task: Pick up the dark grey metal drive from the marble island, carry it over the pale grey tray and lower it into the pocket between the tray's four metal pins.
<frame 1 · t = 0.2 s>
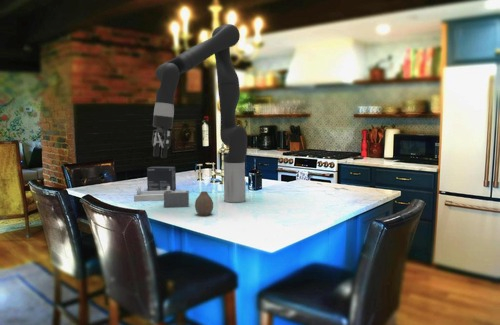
hand: (159, 157, 156), 21 cm above the kitchen island, tool pointing down, fingers open, 8 cm apart
small box: (161, 190, 203), on the kitchen island
vase: (204, 215, 153), on the kitchen island
tray: (153, 198, 183), on the kitchen island
drive: (176, 206, 168), on the kitchen island
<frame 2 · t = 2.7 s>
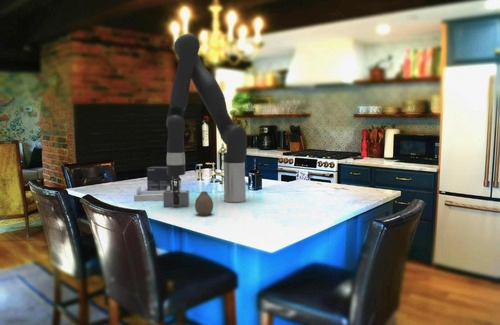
hand: (176, 203, 168), 1 cm above the kitchen island, tool pointing down, fingers closed on drive, 5 cm apart
drive: (176, 205, 168), on the kitchen island, touching gripper
everything else where it was.
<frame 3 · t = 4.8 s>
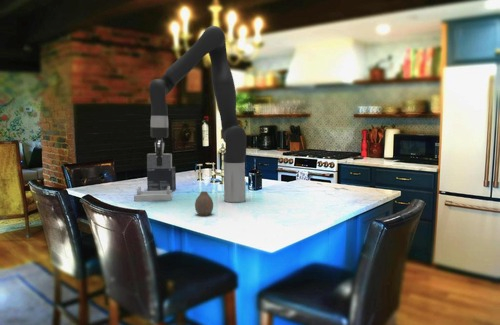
hand: (159, 165, 175), 16 cm above the kitchen island, tool pointing down, fingers closed on drive, 5 cm apart
drive: (159, 167, 175), point 15 cm above the kitchen island, touching gripper
everything else where it was.
when the fingers open (3 cm above the kitchen island, at t = 7.3 s): drive drops 1 cm, resting on tray.
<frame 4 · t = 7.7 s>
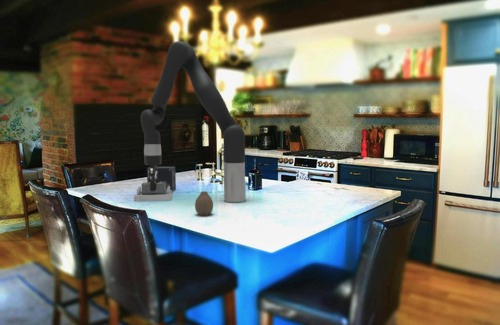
hand: (153, 189, 183), 4 cm above the kitchen island, tool pointing down, fingers open, 8 cm apart
drive: (154, 196, 183), point 1 cm above the kitchen island, touching tray
everything else where it was.
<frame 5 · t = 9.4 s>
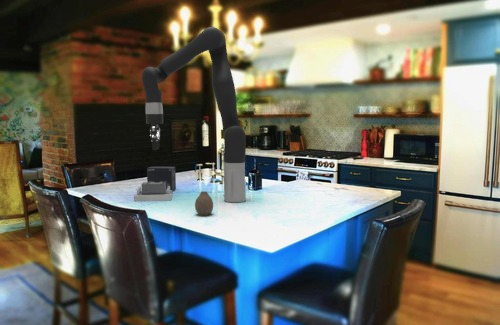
hand: (155, 149, 180), 22 cm above the kitchen island, tool pointing down, fingers open, 8 cm apart
nothing on the kitchen island moved.
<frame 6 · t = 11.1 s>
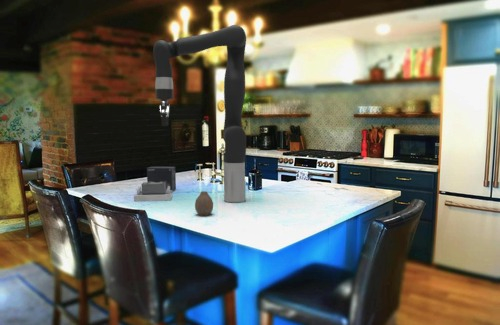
hand: (165, 125, 176), 33 cm above the kitchen island, tool pointing down, fingers open, 8 cm apart
nothing on the kitchen island moved.
at the end: drive 0.1 cm off-centre on the tray, point 1.0 cm above the tray's base; drive tilted 0°; the gripper is holding nothing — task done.
